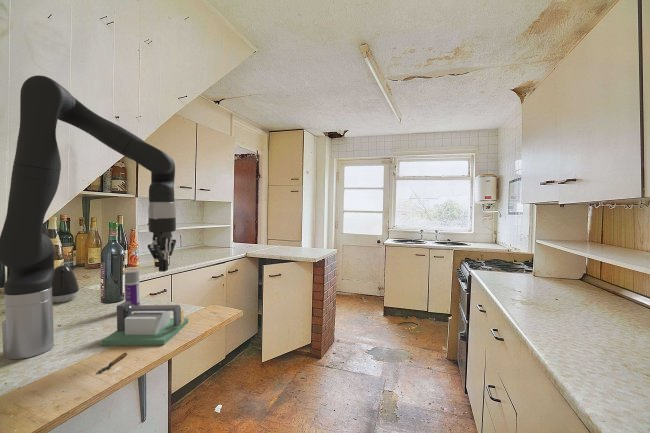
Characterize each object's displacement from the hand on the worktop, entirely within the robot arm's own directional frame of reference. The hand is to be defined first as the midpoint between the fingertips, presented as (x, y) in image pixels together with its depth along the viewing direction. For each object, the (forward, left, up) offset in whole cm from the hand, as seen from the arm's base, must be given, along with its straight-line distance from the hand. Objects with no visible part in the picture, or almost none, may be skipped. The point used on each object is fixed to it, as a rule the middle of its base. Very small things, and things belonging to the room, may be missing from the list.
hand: (163, 271), depth 92 cm
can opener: (-4, -18, -21) cm, 28 cm away
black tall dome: (-58, +31, -20) cm, 69 cm away
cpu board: (-5, 0, -20) cm, 21 cm away
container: (-23, +21, -20) cm, 37 cm away
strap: (-4, 0, -17) cm, 18 cm away
